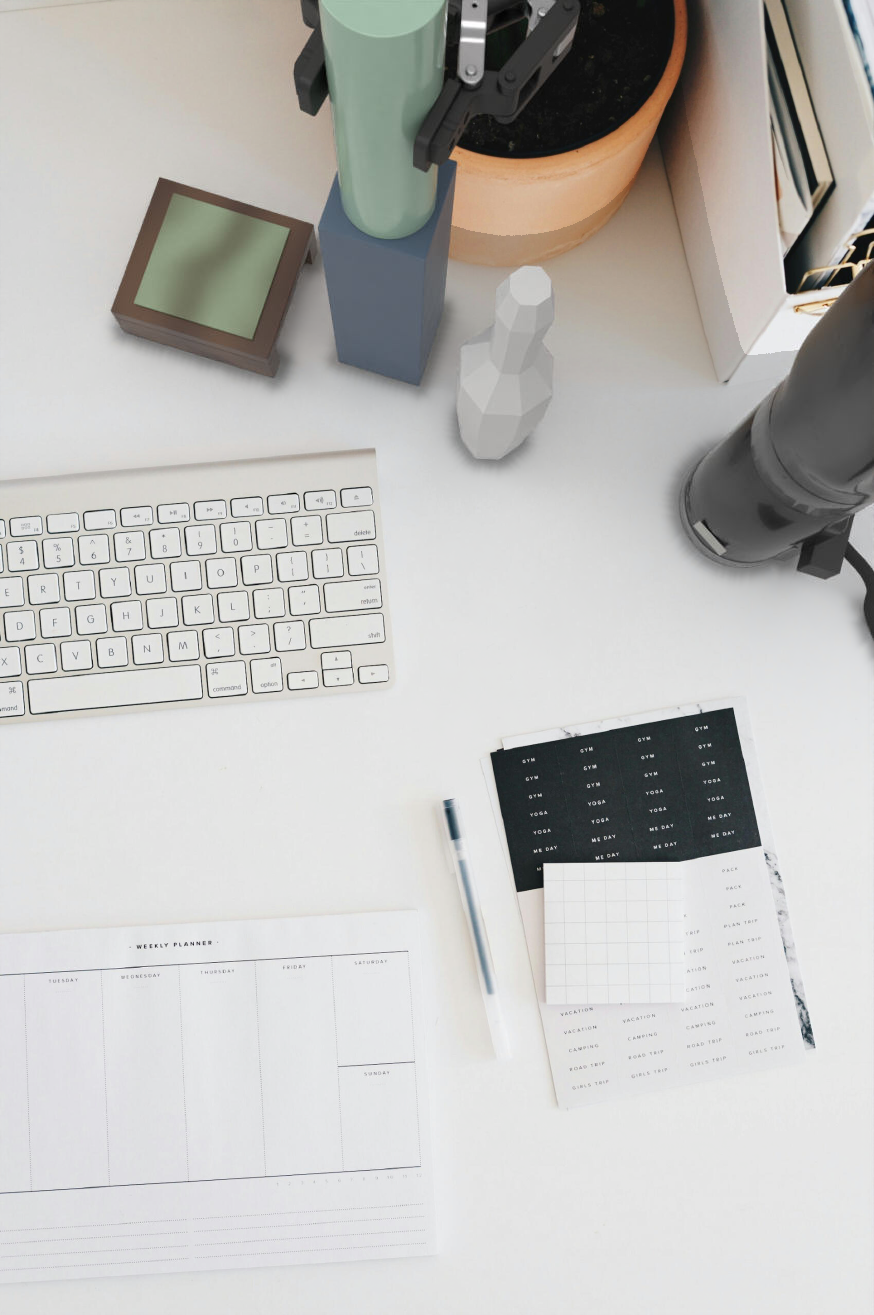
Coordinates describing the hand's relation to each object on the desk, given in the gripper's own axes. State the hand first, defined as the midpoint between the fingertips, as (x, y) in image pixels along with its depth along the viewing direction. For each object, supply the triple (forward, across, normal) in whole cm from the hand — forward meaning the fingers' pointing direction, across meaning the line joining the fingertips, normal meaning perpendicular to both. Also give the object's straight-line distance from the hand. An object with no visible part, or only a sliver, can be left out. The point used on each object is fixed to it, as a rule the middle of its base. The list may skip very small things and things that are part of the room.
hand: (363, 129), depth 44 cm
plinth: (-2, 0, +26) cm, 27 cm away
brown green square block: (0, -13, +26) cm, 30 cm away
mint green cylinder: (-2, 0, +8) cm, 9 cm away
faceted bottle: (+1, +10, +27) cm, 29 cm away
